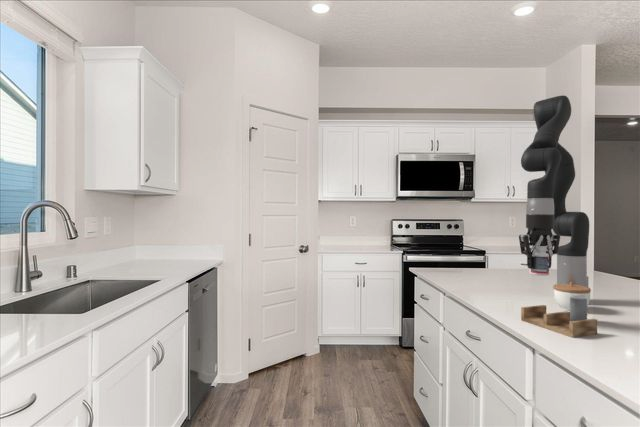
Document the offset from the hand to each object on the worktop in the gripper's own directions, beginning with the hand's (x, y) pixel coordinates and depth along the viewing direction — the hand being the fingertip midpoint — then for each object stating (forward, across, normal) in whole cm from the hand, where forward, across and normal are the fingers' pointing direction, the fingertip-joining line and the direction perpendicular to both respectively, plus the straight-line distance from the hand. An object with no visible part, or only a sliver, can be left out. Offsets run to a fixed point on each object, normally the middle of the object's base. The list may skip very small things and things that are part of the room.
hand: (539, 268), depth 118 cm
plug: (+16, -11, +4) cm, 20 cm away
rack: (+16, 0, +6) cm, 17 cm away
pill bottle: (+2, 0, 0) cm, 2 cm away
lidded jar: (+16, -22, -7) cm, 28 cm away
